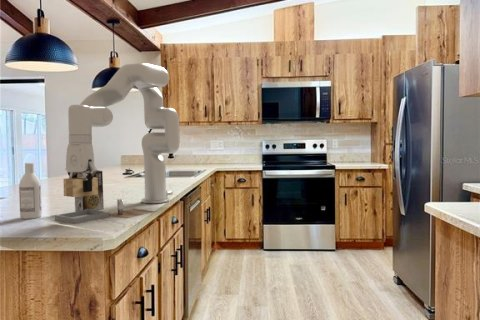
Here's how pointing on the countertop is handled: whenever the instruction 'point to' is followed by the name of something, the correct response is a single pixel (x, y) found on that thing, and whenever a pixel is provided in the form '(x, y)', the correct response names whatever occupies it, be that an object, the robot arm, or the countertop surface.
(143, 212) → the board
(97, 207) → the coffee box
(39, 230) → the countertop surface
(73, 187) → the wooden block
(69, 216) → the tray
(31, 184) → the bath foam
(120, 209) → the stake
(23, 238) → the countertop surface
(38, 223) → the countertop surface
